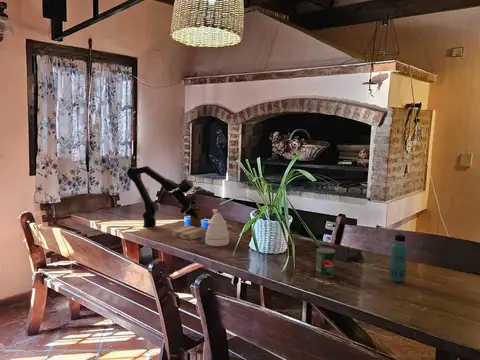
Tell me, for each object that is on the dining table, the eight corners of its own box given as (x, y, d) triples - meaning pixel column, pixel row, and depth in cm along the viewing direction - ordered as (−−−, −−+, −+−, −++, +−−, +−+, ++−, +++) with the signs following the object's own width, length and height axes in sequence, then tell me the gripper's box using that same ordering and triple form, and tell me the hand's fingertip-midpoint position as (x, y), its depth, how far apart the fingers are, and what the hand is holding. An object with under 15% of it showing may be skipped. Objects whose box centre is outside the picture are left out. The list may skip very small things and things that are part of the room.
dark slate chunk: (328, 248, 223) (328, 239, 222) (365, 258, 207) (366, 248, 207) (311, 254, 212) (311, 245, 211) (350, 264, 197) (350, 255, 196)
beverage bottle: (385, 279, 177) (388, 233, 175) (400, 278, 178) (404, 233, 175) (392, 284, 171) (395, 237, 168) (408, 284, 172) (411, 237, 169)
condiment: (196, 225, 262) (197, 206, 260) (204, 228, 255) (204, 208, 253) (187, 226, 257) (187, 207, 255) (194, 229, 250) (194, 210, 249)
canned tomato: (321, 269, 187) (322, 246, 186) (337, 274, 182) (338, 249, 181) (312, 274, 181) (313, 250, 180) (328, 279, 176) (330, 253, 175)
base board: (169, 235, 241) (169, 230, 240) (187, 230, 254) (187, 225, 253) (190, 240, 232) (190, 234, 231) (208, 234, 245) (208, 229, 245)
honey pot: (200, 242, 228) (200, 210, 225) (217, 238, 237) (217, 207, 235) (216, 247, 219) (217, 213, 217) (233, 242, 228) (234, 210, 226)
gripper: (186, 191, 245) (204, 211, 245) (194, 187, 263) (210, 205, 263) (173, 203, 247) (190, 223, 247) (182, 198, 265) (198, 216, 265)
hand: (198, 216), depth 255 cm, fingers closed on condiment, 6 cm apart
